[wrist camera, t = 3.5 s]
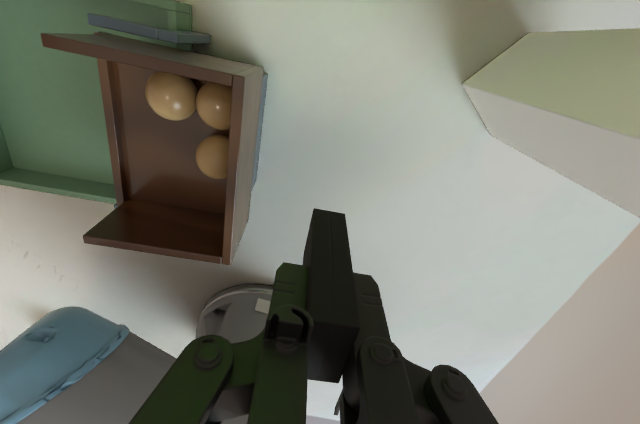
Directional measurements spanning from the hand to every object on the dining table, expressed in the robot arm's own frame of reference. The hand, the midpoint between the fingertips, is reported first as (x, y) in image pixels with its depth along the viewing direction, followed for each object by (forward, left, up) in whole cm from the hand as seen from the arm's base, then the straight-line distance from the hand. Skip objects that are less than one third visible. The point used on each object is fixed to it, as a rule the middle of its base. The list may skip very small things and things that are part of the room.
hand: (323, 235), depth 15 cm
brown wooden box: (0, +10, -10) cm, 14 cm away
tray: (0, +21, -16) cm, 26 cm away
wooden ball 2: (+3, +7, -8) cm, 11 cm away
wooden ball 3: (0, +7, -8) cm, 11 cm away
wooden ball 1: (+3, +10, -8) cm, 13 cm away
